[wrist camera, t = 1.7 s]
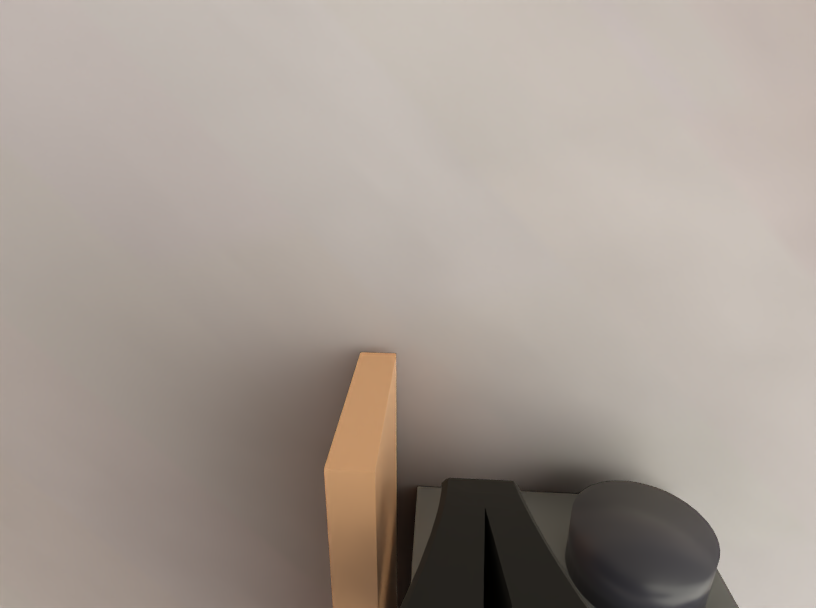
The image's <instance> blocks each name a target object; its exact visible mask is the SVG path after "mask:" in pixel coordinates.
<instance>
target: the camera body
mask: <svg viewBox="0 0 816 608" xmlns="http://www.w3.org/2000/svg"><path fill="white" fill-rule="evenodd" d="M521 494H522V496H523V498H524V500H525V502H526V504H527V506H528V508H529V510H530V512H531V514H532V516H533V518H534V519H535V521H536V523H537V525H538V527H539V528H540V530H541V532H542V534H543V536H544V537H545V539H546V541H547V543H548V544H549V546H550V548H551V549H552V551H553V553H554V554H555V556H556V557H557V559H558V561H559V562H560V564H561V565H562V567H563V568H564V570H565V572H566V573H567V575H568V576H569V578H570V580H571V581H572V583H573V584H574V586H575V587H576V589H577V590H578V592H579V593H580V595H581V596H582V598H583V599H584V601H585V602H586V603H587V605H588V606H589V608H739V607H738V605H737V604H736V602H735V600H734V598H733V597H732V595H731V593H730V591H729V589H728V588H727V586H726V584H725V582H724V581H723V579H722V577H721V575H720V573H719V572H718V570H717V565H718V562H719V558H720V547H719V542H718V539H717V537H716V535H715V533H714V531H713V529H712V528H711V526H710V525H709V523H708V522H707V521H706V520H705V519H704V518H703V517H702V516H701V515H700V514H699V513H698V512H697V511H696V510H695V509H694V508H692V507H691V506H690V505H688V504H687V503H685V502H684V501H682V500H681V499H679V498H677V497H676V496H674V495H672V494H670V493H668V492H666V491H663V490H661V489H658V488H656V487H653V486H649V485H646V484H642V483H637V482H631V481H606V482H601V483H597V484H594V485H592V486H589V487H587V488H586V489H584V490H583V491H582V492H581V493H580V494H570V493H549V492H527V491H521ZM440 496H441V487H420V486H417V500H416V515H415V530H414V544H413V559H412V574H411V582H412V580H413V577H414V575H415V573H416V571H417V568H418V566H419V563H420V561H421V558H422V555H423V553H424V550H425V547H426V545H427V542H428V539H429V537H430V534H431V531H432V528H433V524H434V521H435V518H436V514H437V511H438V506H439V502H440Z"/></svg>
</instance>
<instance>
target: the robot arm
mask: <svg viewBox="0 0 816 608" xmlns="http://www.w3.org/2000/svg"><path fill="white" fill-rule="evenodd" d="M400 608H589V606H588V605H587V603H586V602H585V601H584V599H583V598H582V596H581V595H580V593H579V592H578V590H577V589H576V587H575V586H574V584H573V583H572V581H571V580H570V578H569V576H568V575H567V573H566V572H565V570H564V568H563V567H562V565H561V564H560V562H559V561H558V559H557V557H556V556H555V554H554V553H553V551H552V549H551V548H550V546H549V544H548V543H547V541H546V539H545V537H544V536H543V534H542V532H541V530H540V528H539V527H538V525H537V523H536V521H535V519H534V518H533V516H532V514H531V512H530V510H529V508H528V506H527V504H526V502H525V500H524V498H523V496H522V494H521V491H520V489H519V487H518V485H517V484H516V483H515V482H514V481H506V480H483V479H460V478H447V479H446V480H445V481H443V482H442V488H441V496H440V502H439V506H438V511H437V514H436V518H435V521H434V524H433V528H432V531H431V534H430V537H429V539H428V542H427V545H426V547H425V550H424V553H423V555H422V558H421V561H420V563H419V566H418V568H417V571H416V573H415V575H414V577H413V580H412V582H411V584H410V586H409V588H408V591H407V593H406V595H405V597H404V599H403V601H402V604H401V606H400Z"/></svg>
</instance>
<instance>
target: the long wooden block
mask: <svg viewBox="0 0 816 608" xmlns="http://www.w3.org/2000/svg"><path fill="white" fill-rule="evenodd" d="M324 480H325V495H326V510H327V526H328V541H329V557H330V572H331V587H332V603H333V608H397V436H396V353H366V352H360V356H359V359H358V362H357V365H356V368H355V372H354V375H353V378H352V381H351V384H350V387H349V391H348V394H347V397H346V400H345V403H344V407H343V410H342V413H341V416H340V419H339V422H338V426H337V429H336V432H335V435H334V438H333V442H332V445H331V448H330V451H329V454H328V458H327V461H326V464H325V467H324Z"/></svg>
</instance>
